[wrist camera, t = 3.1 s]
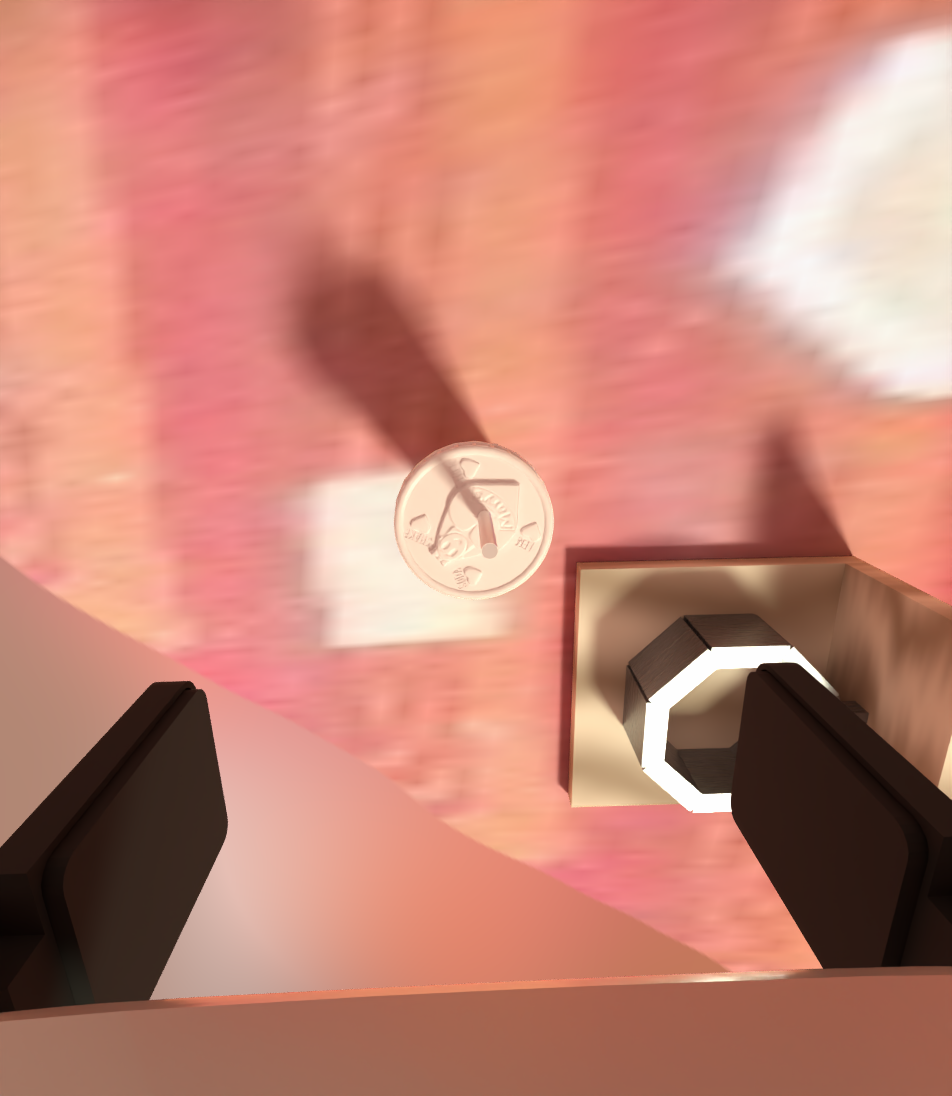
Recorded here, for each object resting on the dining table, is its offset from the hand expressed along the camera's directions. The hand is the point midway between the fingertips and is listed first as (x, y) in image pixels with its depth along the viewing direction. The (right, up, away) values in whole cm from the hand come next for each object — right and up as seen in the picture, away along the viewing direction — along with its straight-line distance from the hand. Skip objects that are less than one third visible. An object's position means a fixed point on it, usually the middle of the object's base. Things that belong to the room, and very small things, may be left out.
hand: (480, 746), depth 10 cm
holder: (+14, -5, +27) cm, 30 cm away
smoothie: (0, +7, +23) cm, 24 cm away
